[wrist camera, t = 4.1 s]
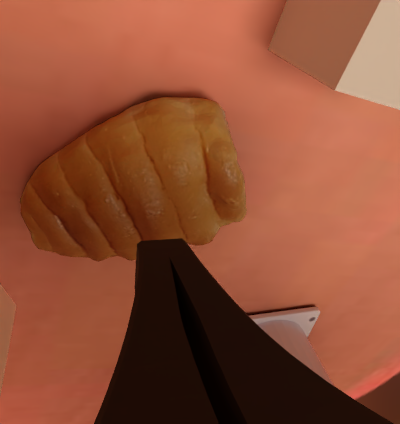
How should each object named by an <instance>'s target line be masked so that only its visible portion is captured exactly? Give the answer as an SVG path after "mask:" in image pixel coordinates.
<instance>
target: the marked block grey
mask: <svg viewBox="0 0 400 424" xmlns="http://www.w3.org/2000/svg"><path fill="white" fill-rule="evenodd" d="M268 50H269V51H271V52H272V53H274V54H275V55H277V56H279V57H280V58H282V59H284V60H285V61H287V62H289V63H290V64H292V65H294V66H295V67H297V68H299V69H300V70H302V71H304V72H305V73H307V74H309V75H310V76H312V77H314V78H315V79H317V80H319V81H320V82H322V83H323V84H325V85H327V86H328V87H330V88H332V89H333V90H335V91H339V92H342V93H345V94H349V95H352V96H355V97H359V98H362V99H365V100H369V101H372V102H375V103H379V104H382V105H385V106H388V107H392V108H395V109H398V110H400V0H287V1H286V4H285V6H284V9H283V11H282V14H281V16H280V19H279V22H278V24H277V27H276V29H275V32H274V34H273V37H272V40H271V42H270V45H269V47H268Z"/></svg>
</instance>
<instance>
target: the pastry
mask: <svg viewBox="0 0 400 424" xmlns="http://www.w3.org/2000/svg"><path fill="white" fill-rule="evenodd" d="M20 203H21V215H22V217H23V219H24V221H25V223H26V225H27V227H28V229H29V231H30V232H31V237H32V240H33V242H34V244H35V245H36V246H37V247H38V249H42V250H45V251H50V252H55V253H58V254H60V255H63V256H69V257H89V258H91V259H93V260H96V261H101V260H104V259H107V258H109V257H113V256H121V257H123V258H126V259H128V260H131V261H132V260H136V252H137V244H138V243H139V242H140V241H145V240H162V239H178V238H182V239H184V240H185V241H186V243H189V244H192V245H204V244H207V243H210V242H211V241H212V240H213V238H214V236H215V235H216V233H217V232H218V230H219V228H220V227H221V226H224V225H227V224H230V223H232V222H240V221H241V220H243V218H244V216H245V215H246V211H247V210H246V195H245V182H244V177H243V174H242V171H241V169H240V167H239V165H238V163H237V152H236V149H235V147H234V145H233V142H232V138H231V135H230V131H229V128H228V123H227V121H226V119H225V112H224V110H223V109H222V107H221V106H220V105H219V104H218V103H217V102H214V101H212V100H208V99H203V98H180V97H162V98H157V99H152V100H149V101H147V102H143V103H140V104H137V105H133V106H131V107H130V108H128V109H126V110H125V111H123V112H122V113H120V114H119V115H117V116H114V117H111V118H109V119H108V120H106V121H105V122H103V123H102V124H99V125H97V126H95V127H94V128H92V129H91V130H89V131H88V132H86V133H85V134H83V135H82V136H80V137H78V138H77V139H76V140H74V141H73V142H72V143H70V144H69V145H67V146H66V147H64V148H63V149H61V150H60V151H58V152H57V153H55V154H54V155H52V156H51V157H49V158H48V159H46V160H45V161H44V162H43V163H41V164H40V165H39V166H38V168H37V169H36V170H35V172H34V173H33V175H32V177H31V178H30V180H29V181H28V183H27V184H26V186H25V189H24V191H23V194H22V196H21V199H20Z"/></svg>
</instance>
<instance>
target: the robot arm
mask: <svg viewBox="0 0 400 424" xmlns="http://www.w3.org/2000/svg"><path fill="white" fill-rule="evenodd" d="M319 314H320V311H319V309H318V308H317V307H309V308H302V309H294V310H287V311H279V312H272V313H265V314H257V315H250V316H248V315H247V314H246V313H245V312H244V311H243V310H242V309H241V308H240V307H239V306H238V305H237V304H236V303H235V302H234V300H233V299H232V298H231V297H230V296H229V295H228V294H227V293H226V292H225V290H224V289H223V288H222V287H221V286H220V285H219V284H218V282H217V281H216V280H215V279H214V278H213V277H212V275H211V274H210V273H209V272H208V270H207V269H206V268H205V267H204V265H203V264H202V263H201V262H200V260H199V259H198V258H197V256H196V255H195V254H194V252H193V251H192V250H191V248H190V247H189V246H188V244H187V243H186V241H185V240H184V239H182V238H178V239H162V240H145V241H140V242H139V243H138V244H137V252H136V273H135V298H134V303H133V307H132V311H131V315H130V320H129V324H128V328H127V332H126V335H125V339H124V342H123V345H122V349H121V352H120V355H119V358H118V361H117V364H116V367H115V370H114V373H113V376H112V379H111V381H110V384H109V387H108V390H107V392H106V395H105V398H104V400H103V403H102V406H101V408H100V411H99V413H98V415H97V418H96V420H95V423H94V424H393V423H392V422H390V421H388V420H387V419H385V418H383V417H382V416H380V415H378V414H377V413H375V412H373V411H372V410H370V409H368V408H367V407H365V406H364V405H362V404H360V403H359V402H357V401H356V400H354V399H352V398H351V397H349V396H348V395H346V394H345V393H344V392H342V391H341V390H339V389H338V388H336V387H335V386H334V384H333V383H332V381H331V379H330V377H329V375H328V374H327V372H326V370H325V368H324V367H323V365H322V363H321V361H320V359H319V358H318V356H317V354H316V352H315V351H314V349H313V347H312V345H311V343H310V342H309V340H308V338H307V337H308V335H309V333H310V332H311V330H312V328H313V326H314V324H315V322H316V320H317V318H318V316H319Z"/></svg>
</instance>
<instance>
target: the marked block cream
mask: <svg viewBox="0 0 400 424" xmlns="http://www.w3.org/2000/svg"><path fill="white" fill-rule="evenodd" d="M16 307H17V305H16V304H15V303H14V301H13V300H12V299H11V297H10V296H9V295H8V293H7V292H6V290H5V289H4V288H3V286H2V285H1V284H0V394H1V388H2V383H3V378H4V372H5V367H6V361H7V356H8V351H9V345H10V340H11V334H12V329H13V324H14V318H15V313H16Z"/></svg>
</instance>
